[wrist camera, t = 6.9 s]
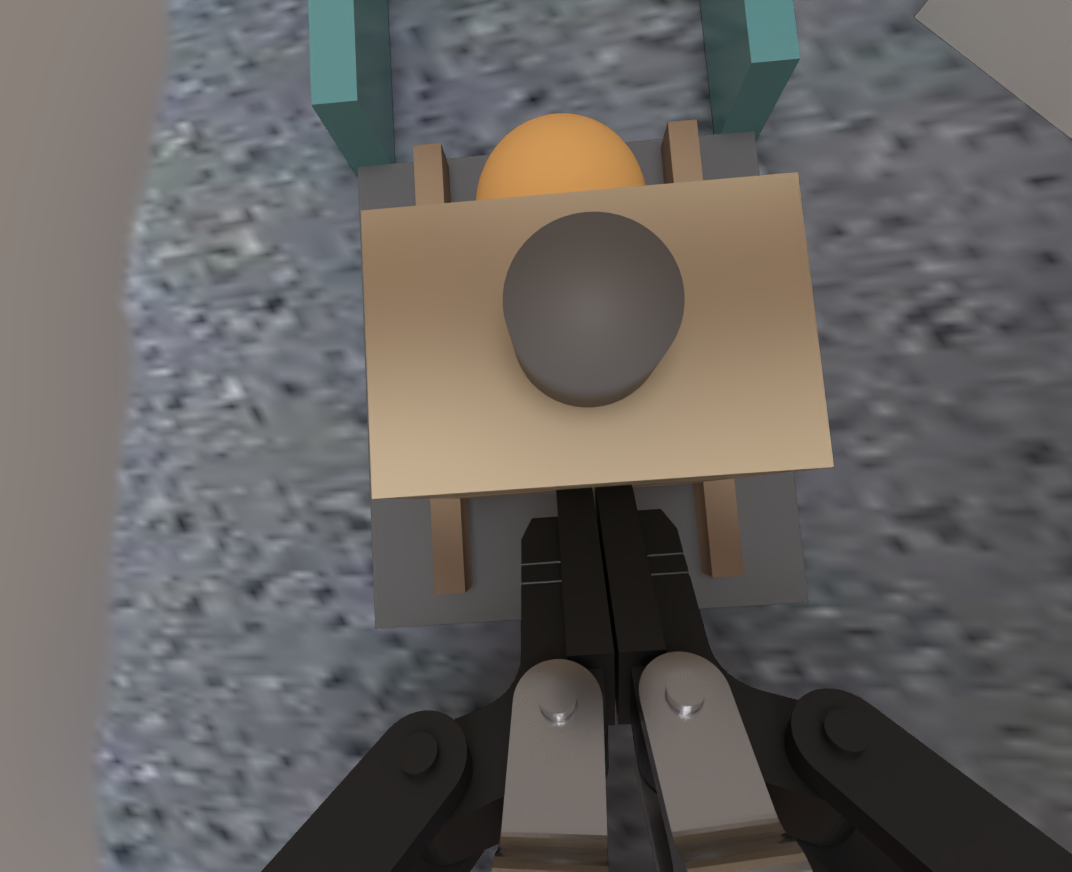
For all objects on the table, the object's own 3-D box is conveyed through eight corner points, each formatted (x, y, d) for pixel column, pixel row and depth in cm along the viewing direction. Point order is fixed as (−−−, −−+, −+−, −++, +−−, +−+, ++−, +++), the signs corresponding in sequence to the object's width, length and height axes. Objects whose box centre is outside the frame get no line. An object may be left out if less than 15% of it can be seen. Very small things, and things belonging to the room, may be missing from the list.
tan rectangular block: (686, 483, 16) (895, 459, 6) (473, 498, 17) (330, 498, 6) (673, 343, 17) (847, 103, 7) (466, 360, 17) (319, 151, 7)
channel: (730, 569, 16) (744, 575, 15) (443, 588, 17) (434, 595, 15) (687, 145, 18) (696, 119, 16) (422, 168, 18) (413, 145, 17)
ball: (666, 245, 17) (702, 160, 13) (559, 348, 17) (558, 297, 13) (562, 146, 18) (562, 32, 13) (456, 245, 18) (422, 162, 13)
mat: (799, 598, 17) (808, 602, 16) (381, 624, 17) (375, 628, 17) (748, 143, 18) (754, 131, 18) (364, 177, 19) (358, 166, 18)
